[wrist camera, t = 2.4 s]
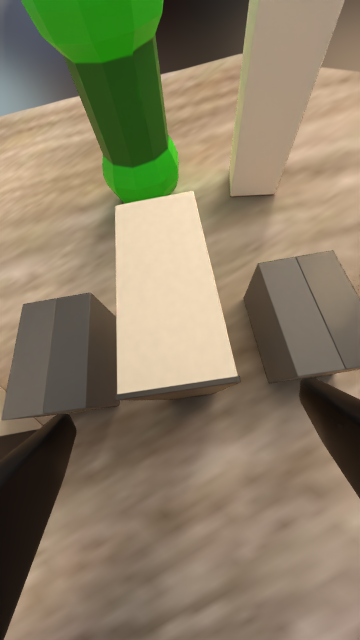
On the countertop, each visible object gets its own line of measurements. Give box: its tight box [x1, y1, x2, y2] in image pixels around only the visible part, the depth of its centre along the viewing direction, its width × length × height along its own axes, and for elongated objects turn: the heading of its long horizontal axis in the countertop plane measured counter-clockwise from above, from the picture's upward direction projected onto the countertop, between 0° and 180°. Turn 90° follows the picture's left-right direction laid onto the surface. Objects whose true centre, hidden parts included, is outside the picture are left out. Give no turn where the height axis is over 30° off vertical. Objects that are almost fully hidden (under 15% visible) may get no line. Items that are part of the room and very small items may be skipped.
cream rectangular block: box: [115, 191, 241, 401], centre depth 14 cm, size 9×4×13 cm, turn 8°
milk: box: [229, 0, 345, 196], centre depth 18 cm, size 6×6×22 cm
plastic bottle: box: [21, 0, 179, 204], centre depth 18 cm, size 10×10×25 cm
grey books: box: [1, 250, 360, 421], centre depth 17 cm, size 9×26×6 cm, turn 98°
